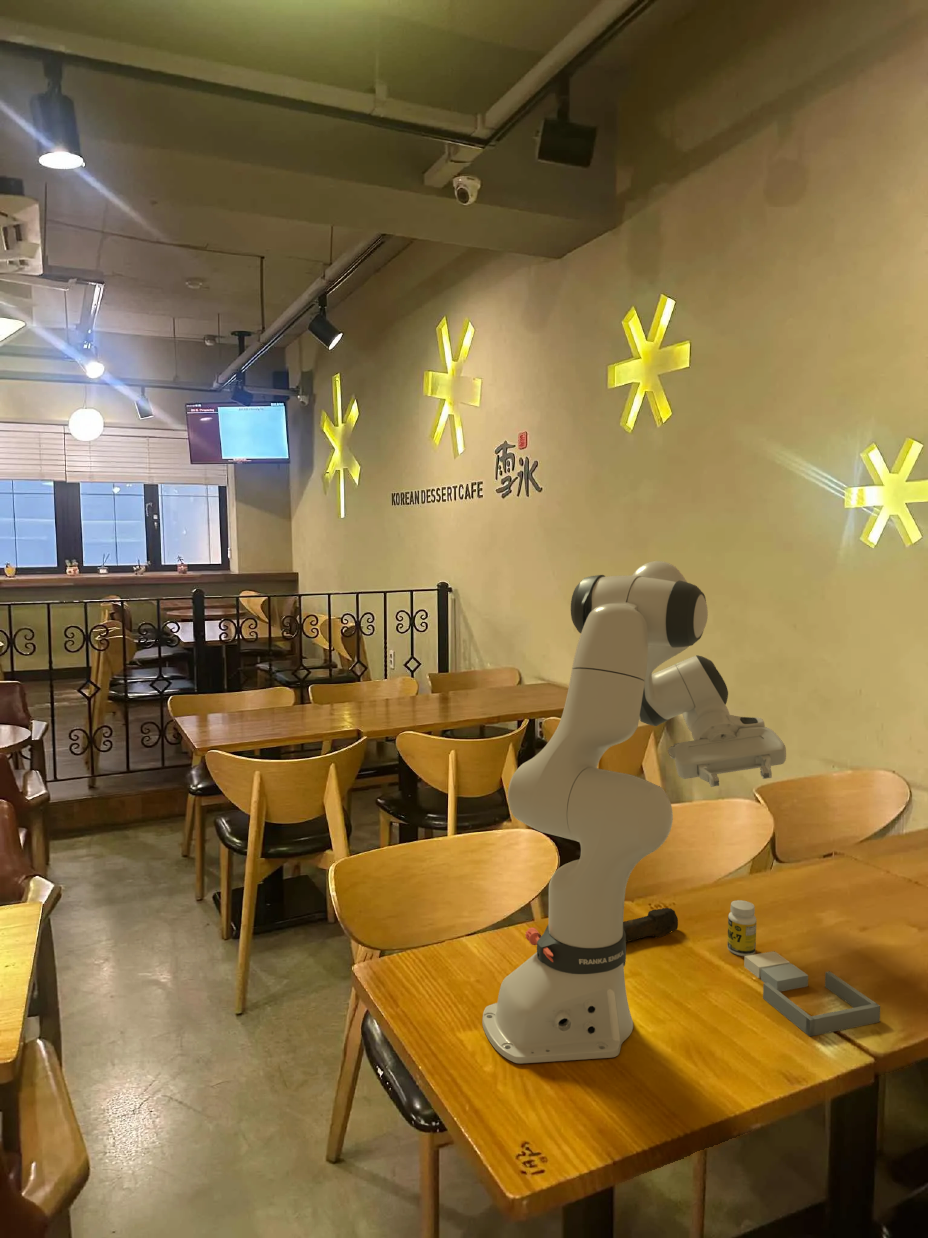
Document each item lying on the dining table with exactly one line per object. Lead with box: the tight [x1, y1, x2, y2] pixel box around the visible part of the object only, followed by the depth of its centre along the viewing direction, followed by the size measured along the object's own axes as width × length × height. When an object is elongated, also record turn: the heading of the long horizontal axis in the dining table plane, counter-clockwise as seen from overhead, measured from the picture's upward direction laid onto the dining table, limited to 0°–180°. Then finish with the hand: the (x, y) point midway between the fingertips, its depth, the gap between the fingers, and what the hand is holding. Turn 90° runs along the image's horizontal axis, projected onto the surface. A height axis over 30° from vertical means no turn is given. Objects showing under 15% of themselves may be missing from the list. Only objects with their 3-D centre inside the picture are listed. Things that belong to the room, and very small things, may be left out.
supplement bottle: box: [727, 899, 757, 957], centre depth 146 cm, size 5×5×8 cm
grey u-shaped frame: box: [762, 970, 881, 1037], centre depth 127 cm, size 13×11×2 cm
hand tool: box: [623, 907, 679, 943], centre depth 150 cm, size 19×4×5 cm, turn 111°
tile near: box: [760, 963, 809, 993], centre depth 135 cm, size 6×4×2 cm, turn 108°
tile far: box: [743, 950, 791, 979], centre depth 140 cm, size 6×4×2 cm, turn 106°
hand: (741, 779), depth 149 cm, fingers open, 8 cm apart
